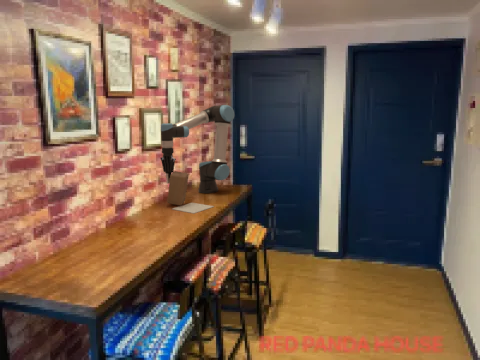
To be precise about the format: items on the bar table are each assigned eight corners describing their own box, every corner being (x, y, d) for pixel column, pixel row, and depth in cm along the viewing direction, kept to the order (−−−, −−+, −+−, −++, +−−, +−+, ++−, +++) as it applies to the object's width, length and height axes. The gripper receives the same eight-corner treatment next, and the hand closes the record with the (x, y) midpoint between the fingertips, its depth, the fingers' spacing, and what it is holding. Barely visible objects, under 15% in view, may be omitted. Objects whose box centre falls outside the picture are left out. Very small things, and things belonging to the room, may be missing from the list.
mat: (192, 203, 249) (192, 202, 249) (214, 206, 236) (214, 206, 236) (171, 209, 235) (171, 208, 235) (193, 213, 223) (193, 213, 223)
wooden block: (185, 201, 250) (189, 173, 244) (181, 206, 240) (185, 177, 235) (170, 198, 250) (174, 170, 245) (166, 203, 241) (170, 174, 235)
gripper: (156, 147, 242) (158, 182, 246) (169, 148, 234) (170, 184, 238) (165, 146, 248) (167, 181, 251) (178, 147, 239) (179, 183, 243)
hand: (168, 183), depth 245 cm, fingers closed
